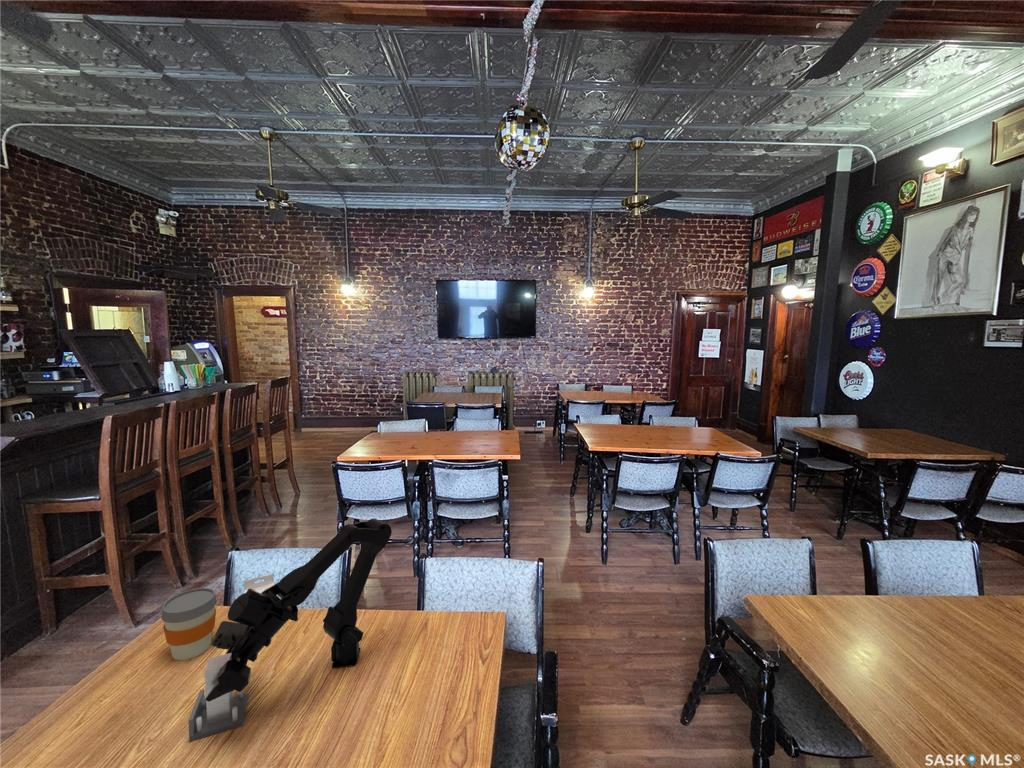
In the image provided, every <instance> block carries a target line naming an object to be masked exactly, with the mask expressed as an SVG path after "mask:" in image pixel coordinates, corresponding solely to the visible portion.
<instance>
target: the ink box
mask: <svg viewBox="0 0 1024 768" xmlns="http://www.w3.org/2000/svg"><path fill="white" fill-rule="evenodd" d="M258 581H260V582H258ZM243 584H244V585H243V587H244V590H243V594H244V593H246V592H247V591H248V589H253V590H255V591H256V592H259V593H262V592H263V591H265V590H266V589H268V588H270V587H271V586H273V585H275V584H276V583H275V582H274V574H273V573H270V574H266V575H262V576H258V577H254V578H251V579H246V580H244V581H243Z"/></svg>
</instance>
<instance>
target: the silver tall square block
mask: <svg viewBox="0 0 1024 768" xmlns="http://www.w3.org/2000/svg"><path fill="white" fill-rule="evenodd" d="M229 660H232V653H229V654H226V653H225V654H221V655H217V656H213V657H209V659H208V662H207V664H206V667H205V669H204V687H205V689H204V690H205V695H206V697H207V696H208V694H209V693H210V691H211V690H212V688H213V687H214V686H215V684H216V683H217V681H218V680H217V676H218V673H219V670H220V669H221V668H222V667H223V665H224V664H225V663H226V662H227V661H229ZM234 691H235V690H234ZM234 691H231V692H229V693H227V694H224V695H222V696H220V697H218V698H216V699H214V700H212V701H210V702H208V701H206V708H207V724H211V723H214V722H217V721H221V720H224V719H228V718H230V716H231V713H232V708H233V705H234V696H235V694H234V693H235V692H234Z"/></svg>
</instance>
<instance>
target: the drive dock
mask: <svg viewBox="0 0 1024 768" xmlns="http://www.w3.org/2000/svg"><path fill="white" fill-rule="evenodd" d="M205 699H206V694H205V689H200V690H199V692H198V695H197V697H196V700H195V702H194V705H193V708H192V710H191V713H190V716H189V719H188V723H187V724H188V739H189V742H194V741H197V740H200V739H203V738H207V737H209V736H213V735H216V734H220V733H223V732H226V731H229V730H234V729H237V728H240V727H243V724H244V720H245V717H246V712H247V709H248V704H249V699H250V692H246V693H244V689H243V690H242V691H241V692H238V691H237V695H234V705H233V708H232V713H231V716H230V718H228V719H224V720H221V721H217V722H214V723H211V724H207V708H206V700H205Z"/></svg>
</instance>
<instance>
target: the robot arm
mask: <svg viewBox="0 0 1024 768" xmlns="http://www.w3.org/2000/svg"><path fill="white" fill-rule="evenodd" d="M392 533H393V530H392V528H391V525H390V524H388V523H385V522H384V521H382V520H379V519H377V518H371V519H368V520H367V521H366V520H365V521H357V522H355V523H347V524H345V525H343V526H342V528H341V530H340V531H339V532H338V533H337V534H336V535H335V536H334V537H333V538H331V540H330V541H328V542H327V544H325V546H323V547H322V548H321V550H319V551H318V552H317V553H316V554H315V555H314V556H313V557H312V558H310V560H309V561H308V562H307V563H305V564H303V565H301V566H298V567H296V568H294V569H293V570H292V571H290V572H289V573H287V574H285V576H283V577H282V578H281V579H280V580H279V581H278V582H277V583H274V584H275V585H273V586H271V587H270V588H268V589H266V590H265V591H263V592H262V593H259V592H256V591H255V590H253V589H248V591H247V592H246V593H244V592H243V593H242V594H240V595H239V596H237V598H235V599H234V600H233V601H232V603H231V605H230V606H229V609H228V612H227V619H228V620H229V621H227V620H223V621H221V622H220V624H219V626H218V628H217V630H216V632H215V634H214V636H213V639H212V640H211V646H213V647H215V648H216V649H222V650H226V652H225V654H229V653H232V660H229V661H227V662H226V663H225V664H224V665H223V667H222V668H221V669H220V670H219V673H218V676H217V680H218V681H217V683H216V684H215V686H214V687H213V688H212V690H211V691H210V693H209V694H208V696H207V697H206V699H205V700H206V701H208V702H210V701H212V700H214V699H216V698H218V697H220V696H222V695H224V694H227V693H229V692H231V691H236V692H237V693H238V692H241V691H242V690H243V691H244V690H245V688H246V687H247V686H248V685H249V683H250V679H251V675H252V668H251V667H249V666H248V665H247V664H248V661H251V662H252V663H254V662H255V661H257V659H258V656H259V653H260V652H261V651H262V650H263V648H264V647H266V648H268V647H270V645H271V644H272V639H273V638H274V637H275V635H276V634H277V633H278V632H279V631H280V630H281V629H282V627H284V625H285V624H286V623H287V622H288V621H289V620H290V621H294V622H298V621H299V615H298V614H299V608H298V606H300V605H301V604H302V603H304V602H305V601H306V600H307V598H308V597H309V596H310V595H311V594H312V592H313V591H314V590H315V588H316V586H317V583H318V580H319V579H320V577H322V576H323V574H324V573H325V572H326V571H327V570H328V569H329V568H330V567H331V566H332V565H333V564H334V563H336V561H337V560H338V559H339V558H340V557H341V556H342V555H343V554H344V553H345V552H346V551H348V550H349V548H350V547H351V546H353V544H354V543H359V542H360V543H359V544H360V549H359V553H358V554H357V557H356V560H355V562H354V564H353V567H352V570H351V571H350V575H349V576H348V577H349V578H348V579H347V582H346V585H345V587H344V590H343V592H342V595H341V597H340V600H339V601H338V602H337V603H336V604H335V605H334V606H329V607H328V608H327V611H326V615H325V617H324V618H323V619H322V622H323V627H322V629H323V630H324V633H325V634H327V635H328V636H329V637H330V638H331V639H332V640H333V642H332V645H331V648H330V651H331V652H330V655H331V657H330V658H331V662H332V664H331V668H332V669H336V668H344V667H345V668H346V667H347V668H348V667H355V666H357V665H358V662H359V661H358V660H359V657H360V653H361V647H360V642H361V641H362V640H363V637H364V632H363V631H362V630H361V629H360V628H358V627H357V621H358V603H359V601H360V598H361V597H362V594H363V591H364V589H365V587H366V586H365V585H366V583H367V581H368V579H369V576H370V573H371V571H372V568H373V565H374V564H375V560H376V558H377V556H378V554H379V553H380V552H382V550H383V549H384V548H386V545H387V543H388V542H389V540H390V538H391V536H392Z"/></svg>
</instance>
